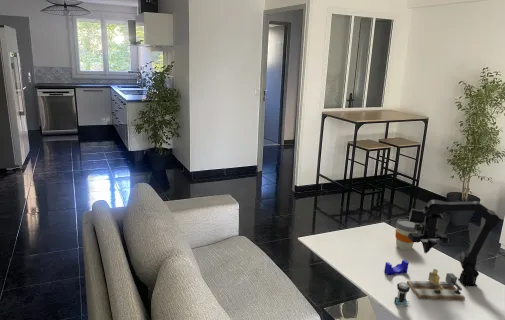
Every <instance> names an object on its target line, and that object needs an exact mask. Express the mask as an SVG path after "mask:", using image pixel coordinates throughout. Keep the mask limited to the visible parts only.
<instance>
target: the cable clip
mask: <svg viewBox="0 0 505 320" xmlns="http://www.w3.org/2000/svg"><path fill="white" fill-rule="evenodd" d="M409 265H410V264H409V262H408V261H407V260H405V259H402V261H401V262H400V263H398V264H396V265H394V266H393V264H392V263H390V262H387V261H386V262H385V266H384V270H383V271H384V272H383V273H384V274H385V275H387V276H394V275H395V276H396V275H400V274H407V273H408V269H409Z"/></svg>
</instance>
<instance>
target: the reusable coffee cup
mask: <svg viewBox="0 0 505 320" xmlns="http://www.w3.org/2000/svg"><path fill="white" fill-rule="evenodd" d="M415 224H419V223H414V222H409V219H408V218H400V219H397V221H396V225H395V227H396V229H395V246H396V247H397V248H399V249H401V250H403V251H404V250H405V251H409V250H412V249H413V246H414V244H415V242H412V241H411V240H410V239H409V238H408V234H409V233H417V234H418V232H417V230H414V226H415Z"/></svg>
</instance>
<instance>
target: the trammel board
mask: <svg viewBox="0 0 505 320" xmlns="http://www.w3.org/2000/svg"><path fill="white" fill-rule="evenodd" d="M406 284H408V286H409V287H410V289H411V291H412V292H413V293H414V295H415V296H416V297H417V298H418V299H419V300H456V301H457V300H458V301H465V300H466V297H465V296H464V294H462V293H463V292H461V291H460V290H459V293H457V287H456V286H455V285H449V284H448V283H447V282H446V281H439V284H440V285H441V286H442V287H443V288H444V290H441V292H439V287H438V285H437V284H432V283H431V282H430V281H429V280H407V281H406Z"/></svg>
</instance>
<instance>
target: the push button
mask: <svg viewBox="0 0 505 320" xmlns="http://www.w3.org/2000/svg"><path fill="white" fill-rule="evenodd" d="M396 287H397V296H395V297H394V304H395V305H396V306H401V307H403V306H407V305H409V303H411V302H410V300H407V295H408V294H407V293H408V292H410V289H411V288H410V287H409V285H408V284H407V282H399V283H397V285H396Z"/></svg>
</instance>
